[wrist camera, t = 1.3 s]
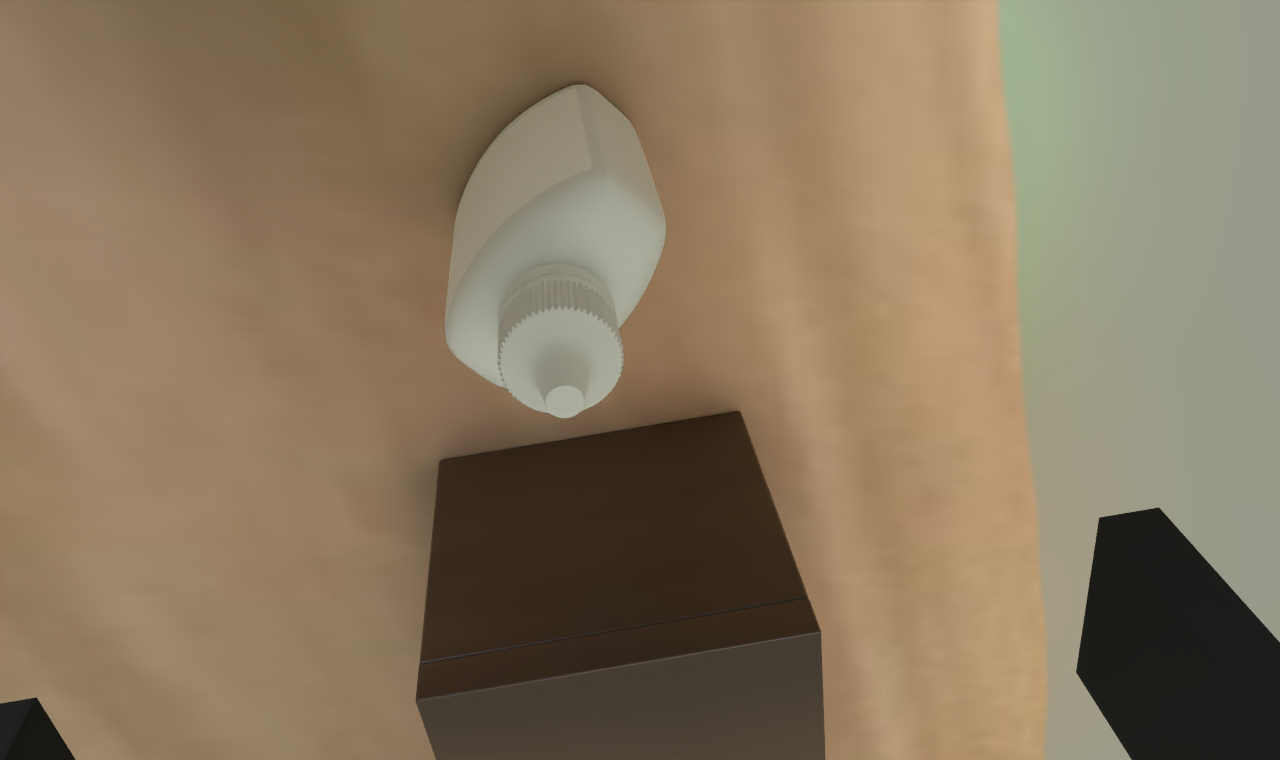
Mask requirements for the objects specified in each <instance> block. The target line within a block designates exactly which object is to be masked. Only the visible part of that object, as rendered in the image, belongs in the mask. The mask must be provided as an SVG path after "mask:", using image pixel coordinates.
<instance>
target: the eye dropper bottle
mask: <svg viewBox="0 0 1280 760" xmlns="http://www.w3.org/2000/svg"><path fill="white" fill-rule="evenodd" d="M665 240H666V219H665V215H664V212H663V208H662V204H661V201H660V198H659V195H658V192H657V189H656V186H655V184H654V181H653V178H652V175H651V172H650V169H649V166H648V163H647V160H646V158H645V155H644V152H643V149H642V146H641V144H640V141H639V138H638V135H637V133H636V131H635V129H634V127H633V125H632V124H631V122H630V121H629V120H628V119H627V118H626V117H625V116H624V115H623V114H622V113H621V112H620V111H619V110H618V109H617V108H616V107H615V106H613V105H612V104H611V103H610V102H609V101H608V100H607V99H606V98H605V97H604V96H602V95H601V94H600V93H599V92H598V91H597V90H595V89H593V88H591V87H589V86H587V85H585V84H583V85H572V86H569V87H567V88H564V89H561V90H559V91H557V92H555V93H553V94H551V95H550V96H548V97H546V98H544V99H543V100H541V101H539V102H538V103H536V104H535V105H533V106H531V107H530V108H529V109H527V110H526V111H525V112H523V113H522V114H520V115H519V116H518V117H517V118H516V119H514V120H513V121H512V122H511V123H510V124H509V125H508V126H507V127H506V128H505V129H504V130H503V131H502V132H501V133H500V134H499V135H498V136H497V137H496V139H495V140H494V141H493V142H492V143H491V145H490V146H489V147H488V149H487V150H486V151H485V153H484V154H483V156H482V157H481V159H480V160H479V162H478V163H477V165H476V167H475V169H474V171H473V172H472V174H471V176H470V178H469V181H468V183H467V185H466V187H465V190H464V192H463V195H462V197H461V200H460V203H459V207H458V210H457V215H456V220H455V227H454V236H453V244H452V253H451V262H450V271H449V281H448V291H447V300H446V313H445V333H446V341H447V345H448V347H449V348H450V349H451V351H452V352H453V354H454V355H455V356H456V357H457V358H458V359H459V360H460V361H461V362H463V363H464V364H465V365H466V366H468V367H469V368H471V369H472V370H473V371H475V372H476V373H478V374H479V375H481V376H482V377H483V378H485V379H486V380H488V381H490V382H491V383H493V384H495V385H497V386H500V387H503V388H506V389H508V392H510V393H512V396H513V397H516V398H517V400H518V401H521V404H524V405H526V406H527V407H530V408H532V409H533V410H537V411H538V412H544V413H549V414H552V415H554V416H556V417H558V418H570V417H573V416H575V415H577V414H578V413H579V412H580V411H583V410H584V409H588V408H589V407H592V406H594V405H595V404H597V403H599V402H600V401H601V400H603V399H604V397H605V396H607V395H609V394H608V393H609V392H611V391H612V388H613V387H615V386H616V382H618V381H619V377H620V376H621V371H622V370H623V368H622V366H623V364H624V362H623V359H624V355H623V353H624V351H623V346H622V341H621V336H620V331H619V328H620V327H621V326H622V324H623V323H624V322H625V321H626V320H627V318H628V317H629V315H630V314H631V313H632V311H633V310H634V308H635V307H636V305H637V304H638V302H639V300H640V299H641V297H642V296H643V294H644V292H645V290H646V288H647V286H648V284H649V282H650V280H651V278H652V276H653V274H654V272H655V269H656V267H657V264H658V262H659V259H660V256H661V253H662V250H663V247H664V243H665Z"/></svg>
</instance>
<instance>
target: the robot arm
mask: <svg viewBox="0 0 1280 760" xmlns="http://www.w3.org/2000/svg"><path fill="white" fill-rule="evenodd" d="M1076 673H1077V674H1078V676H1079V677H1080V679H1081V681H1082V682H1083V684H1084V685H1085V687H1086V688H1087V690H1088V692H1089V693H1090V695H1091V696H1092V698H1093V699H1094V701H1095V702H1096V704H1097V706H1098V707H1099V709H1100V710H1101V712H1102V714H1103V715H1104V717H1105V718H1106V720H1107V721H1108V723H1109V725H1110V726H1111V728H1112V729H1113V731H1114V732H1115V734H1116V736H1117V737H1118V739H1119V740H1120V742H1121V743H1122V745H1123V747H1124V748H1125V750H1126V751H1127V753H1128V754H1129V756H1130V757H1131V759H1132V760H1280V642H1279V641H1278V640H1277V639H1276V638H1275V637H1274V636H1273V635H1272V633H1271V632H1270V631H1269V630H1268V629H1267V628H1266V627H1265V626H1264V624H1263V623H1262V622H1261V621H1260V620H1259V619H1258V618H1257V617H1256V615H1254V613H1253V612H1252V611H1251V610H1250V609H1249V608H1248V607H1247V605H1246V604H1245V603H1244V602H1243V601H1242V600H1241V599H1240V598H1239V596H1238V595H1237V594H1236V593H1235V592H1234V591H1233V590H1232V589H1231V588H1230V586H1229V585H1228V584H1227V583H1226V582H1225V581H1224V580H1223V579H1222V577H1221V576H1220V575H1219V574H1218V573H1217V572H1216V571H1215V570H1214V569H1213V567H1212V566H1211V565H1210V564H1209V563H1208V562H1207V561H1206V560H1205V559H1204V557H1203V556H1202V555H1201V554H1200V553H1199V552H1198V551H1197V550H1196V549H1195V547H1194V546H1193V545H1192V544H1191V543H1190V542H1189V541H1188V539H1187V538H1186V537H1185V536H1184V535H1183V534H1182V533H1181V532H1180V531H1179V529H1178V528H1177V527H1176V526H1175V525H1174V524H1173V523H1172V522H1171V520H1170V519H1169V518H1168V517H1167V516H1166V515H1165V514H1164V513H1163V512H1162V511H1161V509H1160V508H1154V509H1148V510H1142V511H1136V512H1131V513H1124V514H1118V515H1112V516H1107V517H1101V518H1099V523H1098V530H1097V536H1096V543H1095V550H1094V557H1093V563H1092V570H1091V577H1090V583H1089V590H1088V597H1087V604H1086V610H1085V617H1084V624H1083V631H1082V637H1081V644H1080V650H1079V658H1078V664H1077V670H1076ZM0 760H75V758H74V756H73V755H72V753H71V752H70V750H69V749H68V747H67V745H66V744H65V742H64V741H63V739H62V737H61V736H60V734H59V733H58V731H57V729H56V728H55V726H54V725H53V723H52V721H51V720H50V718H49V717H48V715H47V713H46V712H45V710H44V709H43V707H42V706H41V704H40V702H39V701H38V699H37V698H31V699H25V700H19V701H14V702H8V703H2V704H0Z"/></svg>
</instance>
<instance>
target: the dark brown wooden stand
mask: <svg viewBox="0 0 1280 760" xmlns="http://www.w3.org/2000/svg"><path fill="white" fill-rule="evenodd" d="M416 703H417V706H418V709H419V712H420V715H421V718H422V721H423V723H424V726H425V729H426V732H427V735H428V738H429V741H430V743H431V746H432V749H433V752H434V755H435V758H436V760H825V736H824V707H823V679H822V650H821V630H820V628H819V625H818V622H817V619H816V617H815V614H814V611H813V608H812V606H811V603H810V600H809V599H808V595H807V593H806V590H805V587H804V584H803V582H802V579H801V576H800V573H799V571H798V568H797V565H796V562H795V560H794V557H793V554H792V552H791V549H790V546H789V543H788V541H787V538H786V535H785V532H784V530H783V527H782V524H781V521H780V519H779V516H778V513H777V510H776V508H775V505H774V502H773V499H772V497H771V494H770V491H769V488H768V486H767V483H766V480H765V477H764V475H763V472H762V469H761V466H760V464H759V461H758V458H757V455H756V453H755V450H754V447H753V445H752V442H751V439H750V436H749V434H748V431H747V428H746V425H745V423H744V420H743V417H742V414H741V413H740V412H736V413H730V414H723V415H717V416H711V417H705V418H699V419H693V420H687V421H681V422H675V423H669V424H662V425H656V426H650V427H644V428H638V429H632V430H626V431H620V432H614V433H608V434H601V435H595V436H589V437H583V438H577V439H571V440H565V441H559V442H553V443H547V444H541V445H534V446H528V447H522V448H516V449H510V450H504V451H498V452H492V453H486V454H480V455H473V456H467V457H461V458H455V459H449V460H443V461H440V462H439V469H438V480H437V490H436V500H435V511H434V521H433V531H432V541H431V552H430V562H429V572H428V583H427V593H426V603H425V614H424V624H423V634H422V644H421V655H420V665H419V672H418V682H417V692H416Z"/></svg>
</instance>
